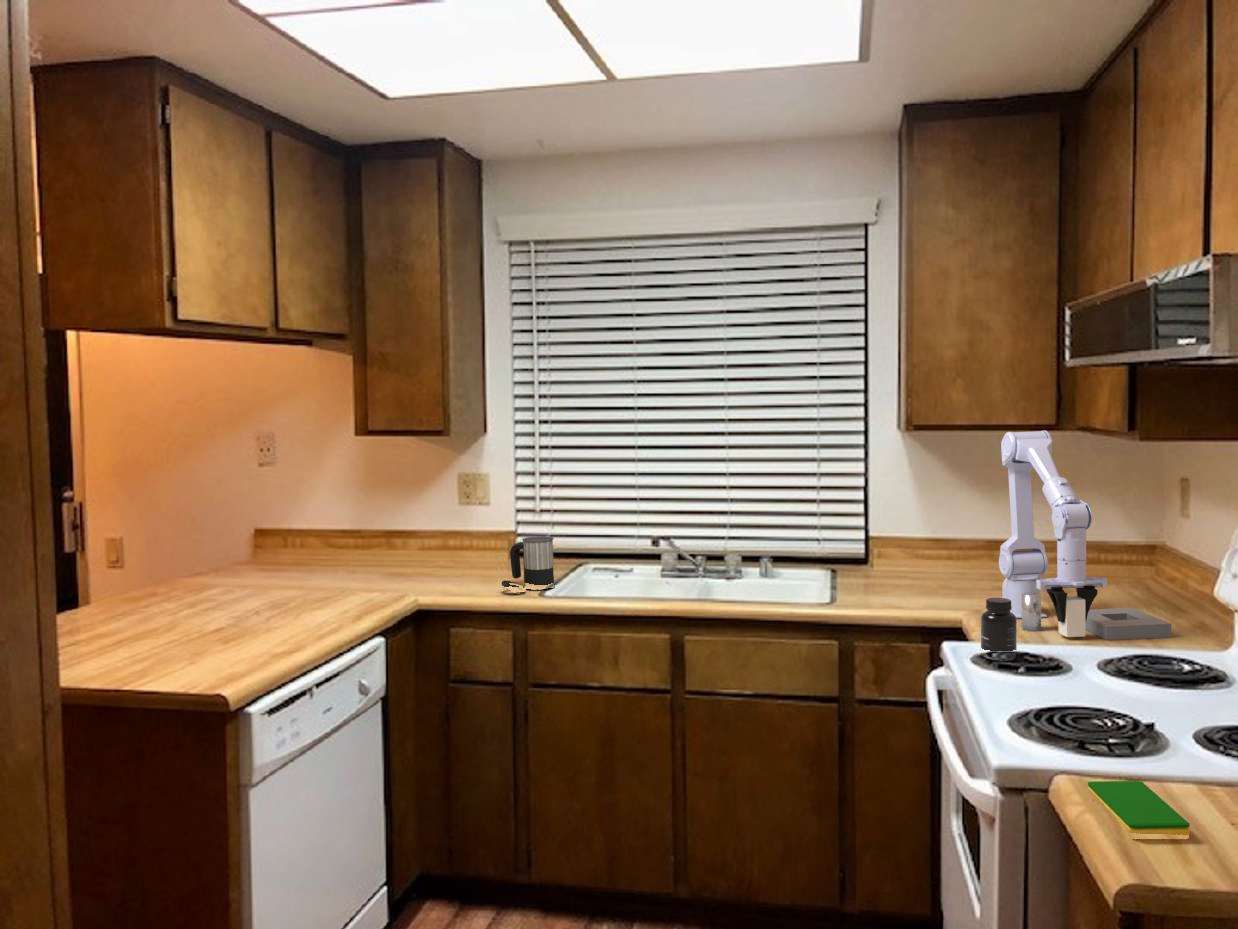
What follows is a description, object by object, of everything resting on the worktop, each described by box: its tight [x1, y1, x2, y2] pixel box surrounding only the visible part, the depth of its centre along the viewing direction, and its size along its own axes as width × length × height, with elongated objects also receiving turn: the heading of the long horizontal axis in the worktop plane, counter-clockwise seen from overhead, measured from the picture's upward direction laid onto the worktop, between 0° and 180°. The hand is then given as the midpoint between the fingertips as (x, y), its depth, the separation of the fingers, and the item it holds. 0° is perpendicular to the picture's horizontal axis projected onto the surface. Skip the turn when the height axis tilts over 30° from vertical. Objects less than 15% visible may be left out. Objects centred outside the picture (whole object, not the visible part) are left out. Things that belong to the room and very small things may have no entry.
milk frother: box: [501, 535, 555, 588], centre depth 296 cm, size 14×16×15 cm
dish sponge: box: [1087, 780, 1191, 835], centre depth 131 cm, size 7×14×2 cm, turn 176°
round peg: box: [1021, 592, 1042, 632], centre depth 229 cm, size 4×4×8 cm
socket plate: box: [1085, 607, 1172, 641], centre depth 225 cm, size 16×14×3 cm
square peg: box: [1058, 595, 1086, 638], centre depth 220 cm, size 4×4×8 cm
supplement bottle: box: [980, 597, 1018, 651], centre depth 207 cm, size 7×7×12 cm
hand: (1071, 621), depth 220 cm, fingers closed on square peg, 4 cm apart
